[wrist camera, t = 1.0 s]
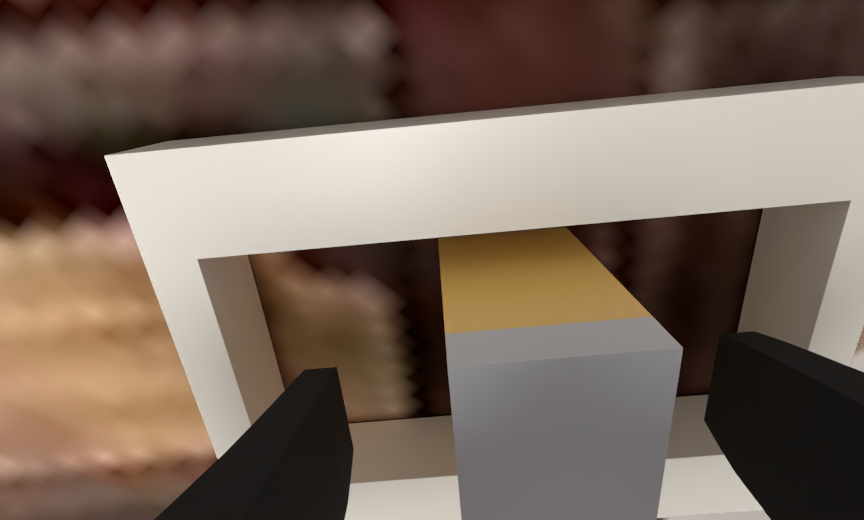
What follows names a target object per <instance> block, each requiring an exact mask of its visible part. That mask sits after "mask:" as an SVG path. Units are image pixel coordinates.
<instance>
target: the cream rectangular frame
mask: <svg viewBox="0 0 864 520" xmlns="http://www.w3.org/2000/svg"><path fill="white" fill-rule="evenodd" d="M104 157H105V160H106V162H107V165H108V168H109V170H110V173H111V176H112V178H113V181H114V184H115V186H116V189H117V192H118V194H119V197H120V200H121V202H122V205H123V208H124V210H125V213H126V216H127V218H128V221H129V224H130V226H131V229H132V232H133V234H134V237H135V240H136V242H137V245H138V248H139V250H140V253H141V256H142V258H143V261H144V264H145V266H146V269H147V272H148V274H149V277H150V280H151V282H152V285H153V288H154V290H155V293H156V296H157V298H158V301H159V304H160V306H161V309H162V312H163V314H164V317H165V320H166V322H167V325H168V328H169V330H170V333H171V336H172V338H173V341H174V344H175V346H176V349H177V352H178V354H179V357H180V360H181V362H182V365H183V368H184V370H185V373H186V376H187V378H188V381H189V384H190V386H191V389H192V392H193V394H194V397H195V400H196V402H197V405H198V408H199V410H200V413H201V416H202V418H203V421H204V424H205V426H206V429H207V432H208V434H209V437H210V440H211V442H212V445H213V448H214V450H215V453H216V456H217V458H218V459H219V458H220V457H221V456H222V455H223V454H224V453H225V452H226V451H227V450H228V449H229V448H230V447H231V446H232V445H233V444H234V443H235V442H236V441H237V440H238V439H239V438H240V437H241V436H242V435H243V434H244V433H245V432H246V431H247V430H248V429H249V428H250V427H251V426H252V424H253V423H254V422H255V421H256V420H257V419H258V418H259V417H260V416H261V415H262V414H263V413H264V412H265V411H266V410H267V409H268V408H269V407H270V406H271V405H272V404H273V402H274V401H275V400H276V399H277V398H278V397H279V396H280V395H281V394H282V393H283V392H284V391H285V389H284V386H283V382H282V378H281V375H280V371H279V367H278V364H277V360H276V356H275V353H274V349H273V345H272V342H271V338H270V334H269V331H268V327H267V324H266V320H265V316H264V313H263V309H262V305H261V302H260V298H259V294H258V291H257V287H256V283H255V280H254V276H253V272H252V269H251V265H250V261H249V258H248V255H249V254H261V253H272V252H283V251H294V250H305V249H316V248H327V247H338V246H349V245H360V244H371V243H383V242H394V241H405V240H416V239H427V238H438V237H449V236H460V235H471V234H482V233H493V232H505V231H516V230H527V229H538V228H549V227H560V226H571V225H582V224H593V223H604V222H615V221H627V220H638V219H649V218H660V217H671V216H682V215H693V214H704V213H715V212H726V211H737V210H749V209H760V208H763V211H762V216H761V221H760V225H759V230H758V235H757V240H756V244H755V249H754V254H753V259H752V264H751V268H750V273H749V278H748V283H747V287H746V292H745V297H744V302H743V307H742V311H741V316H740V321H739V326H738V331H737V333H738V332H749V331H755V332H758V333H761V334H764V335H768V336H771V337H773V338H776V339H779V340H782V341H785V342H787V343H790V344H793V345H795V346H798V347H801V348H803V349H806V350H808V351H811V352H814V353H816V354H819V355H821V356H824V357H826V358H829V359H831V360H834V361H836V362H839V363H841V364H844V365H846V366H849V367H850V365H851V362H852V359H853V356H854V353H855V350H856V347H857V344H858V341H859V338H860V335H861V332H862V329H863V326H864V76H838V77H827V78H817V79H806V80H796V81H786V82H775V83H765V84H755V85H744V86H734V87H723V88H713V89H703V90H692V91H682V92H671V93H661V94H651V95H640V96H630V97H620V98H609V99H599V100H588V101H578V102H568V103H557V104H547V105H537V106H526V107H516V108H505V109H495V110H485V111H474V112H464V113H454V114H443V115H433V116H422V117H412V118H402V119H391V120H381V121H371V122H360V123H350V124H339V125H329V126H319V127H308V128H298V129H288V130H277V131H267V132H256V133H246V134H236V135H225V136H215V137H205V138H194V139H184V140H173V141H166V142H162V143H158V144H153V145H149V146H145V147H140V148H136V149H131V150H127V151H123V152H118V153H114V154H109V155H105V156H104ZM708 396H709V394H708V395H696V396H684V397H676V398H675V404H674V411H673V417H672V424H671V430H670V436H669V443H668V449H667V456H666V462H665V469H664V475H663V482H662V488H661V495H660V501H659V507H658V514H657V518H665V517H677V516H691V515H704V514H717V513H731V512H744V511H758V510H763V508H762V507H761V506H760V504H759V503H758V502H757V501H756V499H755V498H754V497H753V495H752V494H751V493H750V491H749V490H748V489H747V488H746V486H745V485H744V484H743V482H742V481H741V480H740V478H739V477H738V476H737V474H736V473H735V471H734V470H733V468H732V467H731V465H730V463H729V462H728V460H727V459H726V457H725V455H724V454H723V452H722V451H721V449H720V447H719V446H718V444H717V442H716V440H715V439H714V437H713V435H712V434H711V432H710V430H709V428H708V427H707V425H706V423H705V421H704V417H705V411H706V406H707V401H708ZM349 429H350V434H351V439H352V443H353V448H354V452H353V462H352V472H351V481H350V490H349V498H348V505H347V510H346V515H345V519H344V520H462V519H461V508H460V497H459V486H458V476H457V465H456V454H455V443H454V432H453V422H452V415H449V416H437V417H425V418H412V419H400V420H388V421H375V422H363V423H351V424H349Z"/></svg>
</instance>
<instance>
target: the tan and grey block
mask: <svg viewBox="0 0 864 520" xmlns="http://www.w3.org/2000/svg"><path fill="white" fill-rule="evenodd" d="M438 246H439V260H440V273H441V287H442V300H443V314H444V327H445V341H446V354H447V368H448V379H449V389H450V400H451V411H452V422H453V432H454V443H455V454H456V465H457V476H458V486H459V497H460V508H461V519H462V520H657V514H658V507H659V501H660V495H661V488H662V482H663V475H664V469H665V462H666V456H667V449H668V443H669V436H670V430H671V424H672V417H673V411H674V404H675V398H676V391H677V385H678V378H679V372H680V366H681V359H682V353H683V347H682V346H681V345H680V344H679V343H678V342H677V341H676V340H675V339H674V338H673V337H672V336H671V335H670V334H669V333H668V332H667V331H666V330H665V329H664V328H663V327H662V326H661V324H660V323H659V322H658V321H657V320H656V319H655V318H654V317H653V316H652V315H651V314H650V313H649V312H648V311H647V310H646V309H645V308H644V307H643V306H642V305H641V304H640V303H639V302H638V301H637V300H636V299H635V298H634V297H633V296H632V295H631V294H630V293H629V291H628V290H627V289H626V288H625V287H624V286H623V285H622V284H621V283H620V282H619V281H618V280H617V279H616V278H615V277H614V276H613V275H612V274H611V273H610V272H609V271H608V270H607V269H606V268H605V267H604V266H603V265H602V264H601V263H600V262H599V261H598V260H597V259H596V257H595V256H594V255H593V254H592V253H591V252H590V251H589V250H588V249H587V248H586V247H585V246H584V245H583V244H582V243H581V242H580V241H579V240H578V239H577V238H576V237H575V236H574V235H573V234H572V233H571V232H570V231H569V230H568V229H567V228H566V227H560V228H549V229H538V230H527V231H516V232H505V233H494V234H483V235H472V236H461V237H449V238H438Z"/></svg>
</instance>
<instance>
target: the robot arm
mask: <svg viewBox="0 0 864 520" xmlns="http://www.w3.org/2000/svg"><path fill="white" fill-rule="evenodd" d="M704 421H705V423H706V425H707V427H708V428H709V430H710V432H711V434H712V435H713V437H714V439H715V440H716V442H717V444H718V446H719V447H720V449H721V451H722V452H723V454H724V455H725V457H726V459H727V460H728V462H729V463H730V465H731V467H732V468H733V470H734V471H735V473H736V474H737V476H738V477H739V478H740V480H741V481H742V482H743V484H744V485H745V486H746V488H747V489H748V490H749V491H750V493H751V494H752V495H753V497H754V498H755V499H756V501H757V502H758V503H759V504H760V506H761V507H762V508H763V510H764V511H765V512H766V514H767V515H768V516H769V517H770V519H771V520H864V372H861V371H858V370H856V369H853V368H851V367H849V366H846V365H844V364H841V363H839V362H836V361H834V360H831V359H829V358H826V357H824V356H821V355H819V354H816V353H814V352H811V351H808V350H806V349H803V348H801V347H798V346H795V345H793V344H790V343H787V342H785V341H782V340H779V339H776V338H773V337H771V336H768V335H764V334H761V333H758V332H755V331H749V332H738V333H726V334H720V338H719V343H718V349H717V354H716V359H715V364H714V370H713V375H712V380H711V385H710V391H709V396H708V401H707V406H706V411H705V417H704ZM353 452H354V448H353V443H352V439H351V434H350V429H349V424H348V420H347V415H346V410H345V405H344V401H343V396H342V391H341V387H340V382H339V377H338V372H337V368H336V367H333V368H321V369H309V370H304V371H303V372H302V373H301V374H300V375H299V376H298V377H297V378H296V379H295V380H294V381H293V382H292V383H291V384H290V385H289V386H288V388H287V389H286V390H285V391H284V392H283V393H282V394H281V395H280V396H279V397H278V398H277V399H276V400H275V401H274V402H273V404H272V405H271V406H270V407H269V408H268V409H267V410H266V411H265V412H264V413H263V414H262V415H261V416H260V417H259V418H258V419H257V420H256V421H255V422H254V423H253V424H252V426H251V427H250V428H249V429H248V430H247V431H246V432H245V433H244V434H243V435H242V436H241V437H240V438H239V439H238V440H237V441H236V442H235V443H234V444H233V445H232V446H231V447H230V448H229V449H228V450H227V451H226V452H225V453H224V454H223V455H222V456H221V457H220V458H219V459H218V460H217V461H216V462H215V463H214V464H213V465H212V466H211V467H210V468H209V469H208V470H206V471H205V472H204V473H203V474H202V475H201V476H200V477H199V478H198V479H197V480H196V481H195V482H194V483H193V484H192V485H191V486H190V487H189V488H188V489H186V490H185V491H184V492H183V493H182V494H181V495H180V496H179V497H178V498H177V499H176V500H175V501H174V502H173V503H172V504H171V505H170V506H169V507H168V508H166V509H165V510H164V511H163V512H162V513H161V514H160V515H159V516H158V517H156V518H155V519H154V520H344V519H345V515H346V510H347V505H348V498H349V490H350V481H351V472H352V462H353Z"/></svg>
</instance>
